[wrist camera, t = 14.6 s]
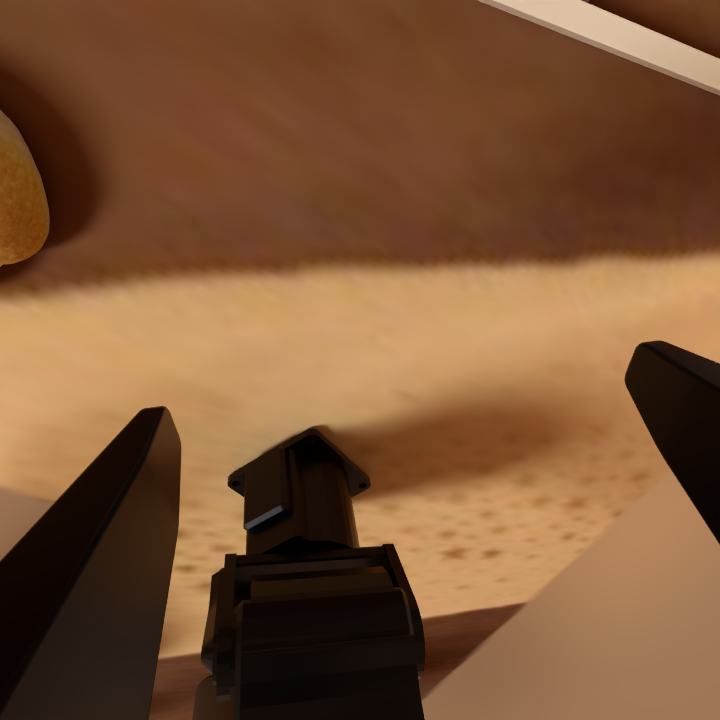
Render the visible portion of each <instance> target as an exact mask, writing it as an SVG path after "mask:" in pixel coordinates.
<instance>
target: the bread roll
mask: <svg viewBox="0 0 720 720" xmlns="http://www.w3.org/2000/svg"><path fill="white" fill-rule="evenodd" d="M49 225H50V216H49V208H48V203H47V198H46V194H45V190H44V186H43V183H42V180H41V176H40V174H39V171H38V169H37V167H36V165H35V162H34V160H33V157H32V155H31V153H30V151H29V148H28V147H27V145H26V143H25V141H24V140H23V138H22V136H21V134H20V132H19V130H18V129H17V127H16V126H15V125H14V124H13V122H12V121H11V120H10V119H9V118H8V117H7V116H6V115H5V114H4V113H3V112H2V110H0V267H1V266H2V265H3V264H12V263H16V262H19V261H22V260H25V259H27V258H29V257H31V256H32V255H34V254H35V253H36V252H38V251H39V250H40V249H41V248H42V246H43V244H44V242H45V240H46V238H47V236H48V233H49Z"/></svg>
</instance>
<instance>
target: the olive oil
mask: <svg viewBox="0 0 720 720" xmlns="http://www.w3.org/2000/svg"><path fill="white" fill-rule="evenodd" d="M193 720H234V703H225V704H217V700H216V685H213V683H212V676H210V677H208V678H207V679H205V680H204V681H203V682H202V683H201V684H200V685H199V686H198V688H197V690H196V695H195V703H194V712H193Z"/></svg>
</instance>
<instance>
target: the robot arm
mask: <svg viewBox="0 0 720 720" xmlns="http://www.w3.org/2000/svg"><path fill="white" fill-rule="evenodd" d="M625 384H626V387H627V389H628V391H629V393H630V395H631V397H632V399H633V401H634V403H635V405H636V407H637V409H638V411H639V413H640V415H641V417H642V419H643V421H644V423H645V424H646V426H647V428H648V430H649V432H650V434H651V436H652V438H653V440H654V442H655V444H656V446H657V448H658V449H659V451H660V453H661V454H662V456H663V458H664V459H665V461H666V463H667V464H668V466H669V467H670V469H671V470H672V472H673V473H674V475H675V476H676V478H677V479H678V481H679V482H680V484H681V486H682V487H683V489H684V490H685V492H686V493H687V495H688V496H689V498H690V499H691V501H692V502H693V504H694V506H695V507H696V509H697V510H698V512H699V513H700V515H701V516H702V518H703V520H704V521H705V523H706V524H707V526H708V527H709V529H710V530H711V532H712V533H713V535H714V536H715V538H716V540H717V541H718V543H719V544H720V364H719V363H716V362H714V361H711V360H709V359H706V358H704V357H702V356H699V355H697V354H694V353H692V352H689V351H687V350H684V349H682V348H679V347H677V346H674V345H672V344H669V343H667V342H664V341H651V342H643V343H641V344H639V345H638V346H637V347H636V349H635V351H634V353H633V356H632V358H631V361H630V363H629V366H628V369H627V371H626V374H625ZM311 437H312V439H311ZM180 474H181V441H180V437H179V434H178V432H177V429H176V427H175V424H174V422H173V419H172V416H171V414H170V412H169V410H168V409H167V407H164V406H159V407H151V408H145V409H142V410H141V411H139V412H138V413H137V414H136V416H135V417H134V418H133V419H132V420H131V421H130V422H129V423H128V424H127V425H126V426H125V427H124V428H123V430H122V431H121V432H120V433H119V434H118V435H117V436H116V437H115V438H114V439H113V440H112V441H111V442H110V443H109V445H108V446H107V447H106V448H105V449H104V450H103V451H102V452H101V453H100V454H99V455H98V456H97V457H96V459H95V460H94V461H93V462H92V463H91V464H90V465H89V466H88V467H87V468H86V469H85V470H84V471H83V472H82V474H81V475H80V476H79V477H78V478H77V479H76V480H75V481H74V482H73V483H72V484H71V485H70V486H69V487H68V489H67V490H66V491H65V492H64V493H63V494H62V495H61V496H60V497H59V498H58V499H57V500H56V501H55V503H54V504H53V505H52V506H51V507H50V508H49V509H48V510H47V511H46V512H45V513H44V514H43V515H42V517H41V518H40V519H39V520H38V521H37V522H36V523H35V524H34V525H33V526H32V527H31V528H30V529H29V530H28V532H27V533H26V534H25V535H24V536H23V537H22V538H21V539H20V540H19V541H18V542H17V543H16V544H15V546H14V547H13V548H12V549H11V550H10V551H9V552H8V553H7V554H6V555H5V556H4V557H3V558H2V559H1V561H0V720H148V718H149V712H150V705H151V699H152V693H153V686H154V680H155V674H156V667H157V661H158V655H159V648H160V642H161V636H162V629H163V623H164V617H165V610H166V604H167V598H168V591H169V585H170V579H171V572H172V566H173V560H174V554H175V547H176V541H177V533H178V525H179V503H180ZM228 486H229V487H230V488H231V489H233V490H234V491H236V492H237V493H239V494H240V495H242V496H243V497H244V526H243V527H244V529H245V530H247V537H246V555H236V553H234V554H226V555H225V565H224V568H222V569H220V571H219V572H217V573H215V574H214V575H212V580H211V592H210V603H209V611H208V617H207V622H206V628H205V633H204V639H203V644H202V651H201V663H202V665H203V666H204V667H205V668H206V669H207V670H208V671H209V672H210V673H211V674H212V683H213V685H216V700H217V704H225V703H234V720H425V719H424V714H423V708H422V702H421V696H420V690H419V682H418V679H420V678H421V677H422V674H423V671H424V664H425V641H424V632H423V626H422V620H421V616H420V612H419V608H418V605H417V602H416V599H415V597H414V594H413V592H412V589H411V587H410V584H409V582H408V579H407V577H406V574H405V572H404V569H403V567H402V564H401V562H400V559H399V557H398V554H397V552H396V549H395V547H394V545H393V544H383V545H382V546H375V547H360V546H359V541H358V535H357V529H356V523H355V517H354V511H353V505H352V500H351V497H353V496H355V495H357V494H359V493H361V492H363V491H364V490H366V489H368V488H369V487H370V479H369V477H368V476H367V475H366V474H365V473H363V472H362V471H361V470H360V469H359V468H358V467H357V466H356V465H355V464H354V463H353V462H351V461H350V460H349V459H348V458H347V457H346V456H345V455H344V454H343V453H342V452H341V451H339V450H338V449H337V448H336V447H335V446H334V445H333V444H332V443H331V442H330V441H329V440H327V439H326V438H325V437H324V436H323V435H322V434H321V433H320V432H319V431H317V430H314V429H310V430H307V431H305V432H303V433H302V434H300V435H298V436H296V437H295V438H293V439H291V440H289V441H288V442H286V443H284V444H283V445H281V446H279V447H277V448H276V449H274V450H272V451H270V452H269V453H267V454H265V455H263V456H262V457H260V458H258V459H257V460H255V461H253V462H251V463H250V464H248V465H246V466H244V467H243V468H241V469H239V470H237V471H236V472H234V473H232V474H231V475H229V477H228Z"/></svg>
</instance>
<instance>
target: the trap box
mask: <svg viewBox="0 0 720 720" xmlns="http://www.w3.org/2000/svg"><path fill="white" fill-rule="evenodd" d="M478 1H480V2H483V3H485V4H488V5H490V6H493V7H495V8H498V9H501V10H503V11H506V12H508V13H511V14H513V15H516V16H518V17H521V18H523V19H526V20H529V21H531V22H534V23H536V24H539V25H541V26H544V27H546V28H549V29H551V30H554V31H557V32H559V33H562V34H564V35H567V36H569V37H572V38H574V39H577V40H579V41H582V42H585V43H587V44H590V45H592V46H595V47H597V48H600V49H602V50H605V51H607V52H610V53H612V54H615V55H618V56H620V57H623V58H625V59H628V60H630V61H633V62H635V63H638V64H640V65H643V66H646V67H648V68H651V69H653V70H656V71H658V72H661V73H663V74H666V75H668V76H671V77H674V78H676V79H679V80H681V81H684V82H686V83H689V84H691V85H694V86H696V87H699V88H702V89H704V90H707V91H709V92H712V93H714V94H717V95H719V96H720V59H719V58H716V57H714V56H711V55H709V54H707V53H704V52H702V51H700V50H697V49H695V48H693V47H690V46H688V45H685V44H683V43H681V42H678V41H676V40H674V39H671V38H669V37H667V36H664V35H662V34H659V33H657V32H655V31H652V30H650V29H648V28H645V27H643V26H641V25H638V24H636V23H633V22H631V21H629V20H626V19H624V18H622V17H619V16H617V15H615V14H612V13H610V12H607V11H605V10H603V9H600V8H598V7H596V6H593V5H591V4H589V3H588V2H589V0H478Z"/></svg>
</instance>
